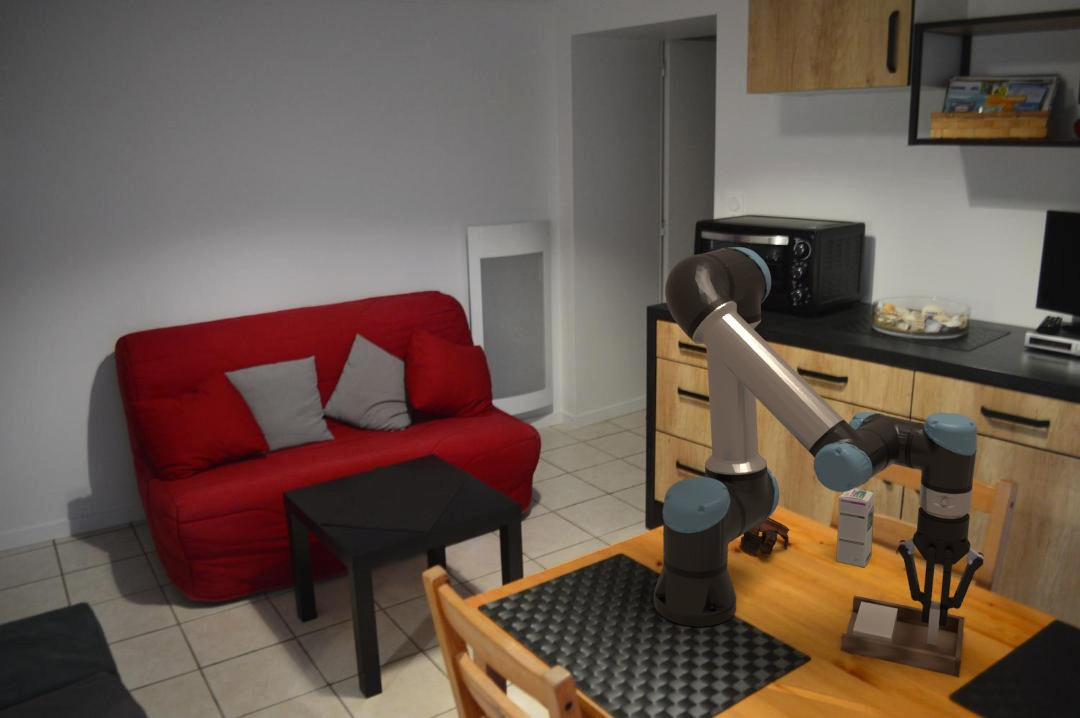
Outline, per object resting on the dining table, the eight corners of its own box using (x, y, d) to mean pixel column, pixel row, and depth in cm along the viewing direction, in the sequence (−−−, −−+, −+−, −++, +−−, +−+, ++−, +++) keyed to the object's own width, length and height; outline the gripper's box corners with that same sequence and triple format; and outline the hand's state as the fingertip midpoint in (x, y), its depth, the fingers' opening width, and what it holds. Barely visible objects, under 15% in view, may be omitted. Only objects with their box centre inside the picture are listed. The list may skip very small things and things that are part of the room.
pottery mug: (732, 542, 192) (748, 507, 192) (771, 560, 192) (788, 526, 192) (745, 554, 180) (762, 517, 180) (787, 574, 180) (804, 537, 180)
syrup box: (865, 568, 178) (869, 500, 174) (834, 561, 181) (838, 495, 177) (871, 556, 183) (876, 490, 179) (842, 549, 186) (846, 485, 182)
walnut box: (840, 656, 150) (841, 635, 149) (852, 615, 162) (854, 595, 161) (958, 683, 142) (960, 661, 141) (962, 637, 154) (964, 617, 153)
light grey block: (851, 646, 150) (852, 630, 150) (860, 616, 159) (861, 601, 158) (889, 654, 148) (891, 638, 147) (896, 624, 156) (897, 608, 155)
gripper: (898, 512, 143) (888, 643, 149) (989, 526, 137) (975, 661, 143) (902, 494, 149) (893, 620, 155) (990, 507, 143) (976, 637, 149)
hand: (932, 640), depth 149 cm, fingers closed
